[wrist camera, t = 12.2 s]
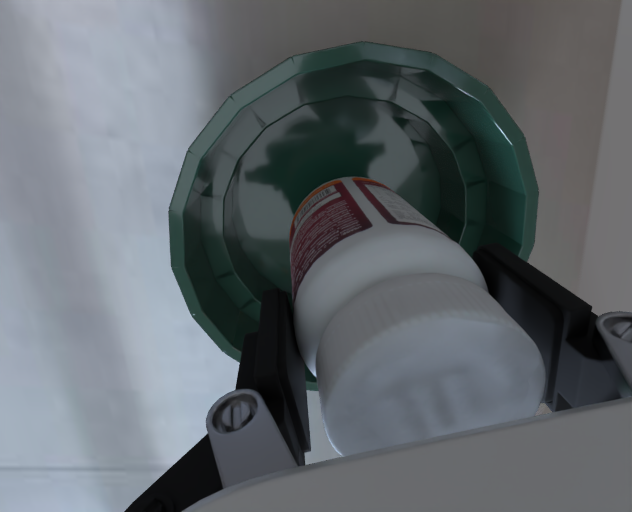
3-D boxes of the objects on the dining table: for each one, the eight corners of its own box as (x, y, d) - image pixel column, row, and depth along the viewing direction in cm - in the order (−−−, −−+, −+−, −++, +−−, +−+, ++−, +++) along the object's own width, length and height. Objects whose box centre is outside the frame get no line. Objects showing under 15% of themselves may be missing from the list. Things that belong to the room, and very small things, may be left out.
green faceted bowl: (462, 33, 18) (556, 0, 12) (464, 292, 25) (524, 357, 19) (162, 96, 18) (99, 96, 12) (245, 337, 25) (233, 418, 19)
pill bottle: (294, 290, 19) (307, 512, 9) (283, 178, 17) (281, 310, 6) (404, 279, 19) (539, 481, 9) (409, 167, 17) (605, 277, 7)
